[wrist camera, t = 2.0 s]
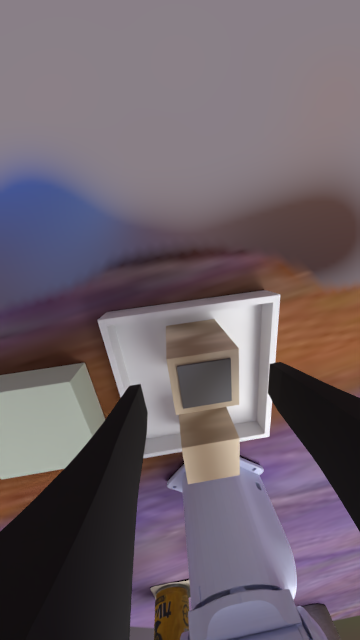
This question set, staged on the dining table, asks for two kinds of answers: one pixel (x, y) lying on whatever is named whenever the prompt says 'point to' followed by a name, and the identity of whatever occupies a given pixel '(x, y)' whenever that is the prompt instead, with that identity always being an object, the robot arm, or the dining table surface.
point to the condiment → (171, 610)
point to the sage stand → (46, 418)
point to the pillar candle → (323, 620)
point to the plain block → (209, 445)
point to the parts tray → (152, 371)
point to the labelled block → (202, 366)
